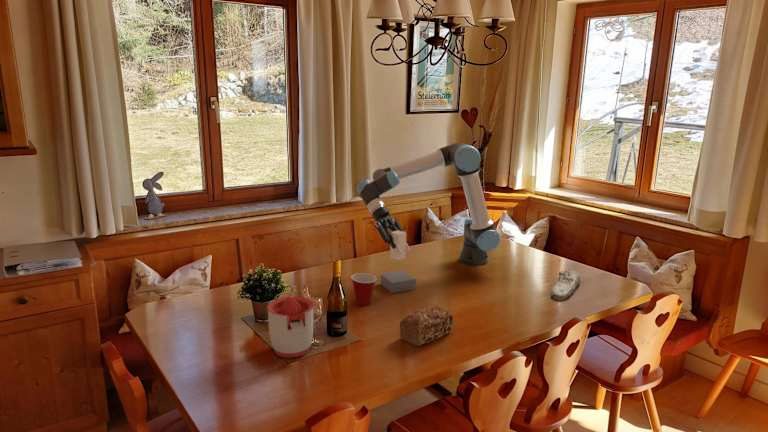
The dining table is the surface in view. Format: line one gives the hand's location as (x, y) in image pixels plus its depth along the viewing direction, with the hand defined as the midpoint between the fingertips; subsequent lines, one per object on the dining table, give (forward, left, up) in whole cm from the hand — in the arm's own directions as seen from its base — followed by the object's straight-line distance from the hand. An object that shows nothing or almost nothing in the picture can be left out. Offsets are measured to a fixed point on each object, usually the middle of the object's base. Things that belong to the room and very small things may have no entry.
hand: (404, 252), depth 237 cm
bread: (+6, +46, -18) cm, 50 cm away
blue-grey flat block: (+2, -3, -18) cm, 18 cm away
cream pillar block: (+2, -3, -3) cm, 5 cm away
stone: (-73, +17, -18) cm, 77 cm away
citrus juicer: (+56, +46, -17) cm, 74 cm away
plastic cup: (+22, +12, -17) cm, 30 cm away
